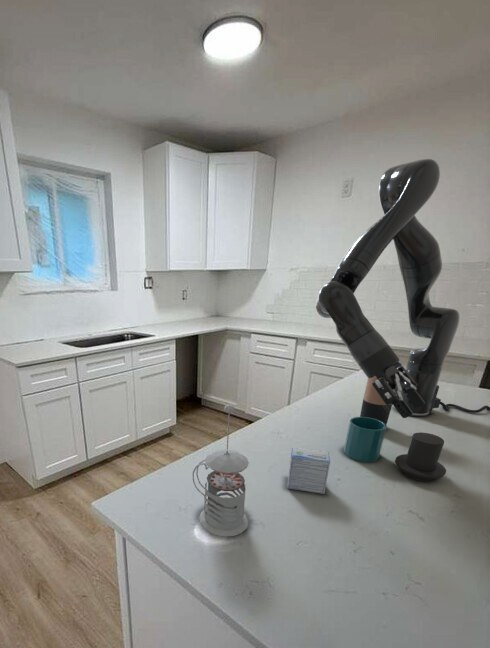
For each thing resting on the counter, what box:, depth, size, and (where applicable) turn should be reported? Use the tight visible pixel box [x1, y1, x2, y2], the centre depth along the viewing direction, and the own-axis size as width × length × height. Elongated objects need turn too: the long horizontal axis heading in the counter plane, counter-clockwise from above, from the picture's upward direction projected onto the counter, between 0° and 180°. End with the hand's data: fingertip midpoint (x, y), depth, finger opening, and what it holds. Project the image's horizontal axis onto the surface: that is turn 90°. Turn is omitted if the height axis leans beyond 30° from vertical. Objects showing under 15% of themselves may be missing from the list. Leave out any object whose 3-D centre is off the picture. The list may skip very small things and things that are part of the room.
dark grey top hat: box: [394, 431, 447, 482], centre depth 84 cm, size 10×10×10 cm
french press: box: [192, 403, 250, 538], centre depth 68 cm, size 10×12×25 cm
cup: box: [343, 416, 388, 463], centre depth 93 cm, size 8×8×9 cm
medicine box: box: [286, 447, 331, 495], centre depth 81 cm, size 8×4×9 cm, turn 71°
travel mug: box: [359, 361, 403, 426], centre depth 106 cm, size 8×8×20 cm
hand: (414, 411), depth 83 cm, fingers open, 8 cm apart
